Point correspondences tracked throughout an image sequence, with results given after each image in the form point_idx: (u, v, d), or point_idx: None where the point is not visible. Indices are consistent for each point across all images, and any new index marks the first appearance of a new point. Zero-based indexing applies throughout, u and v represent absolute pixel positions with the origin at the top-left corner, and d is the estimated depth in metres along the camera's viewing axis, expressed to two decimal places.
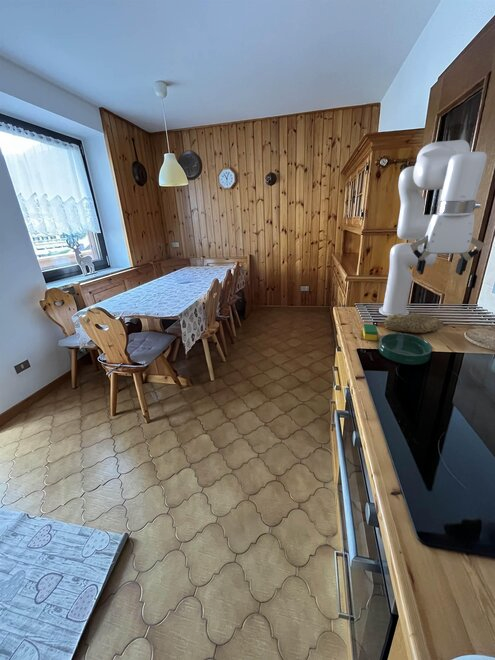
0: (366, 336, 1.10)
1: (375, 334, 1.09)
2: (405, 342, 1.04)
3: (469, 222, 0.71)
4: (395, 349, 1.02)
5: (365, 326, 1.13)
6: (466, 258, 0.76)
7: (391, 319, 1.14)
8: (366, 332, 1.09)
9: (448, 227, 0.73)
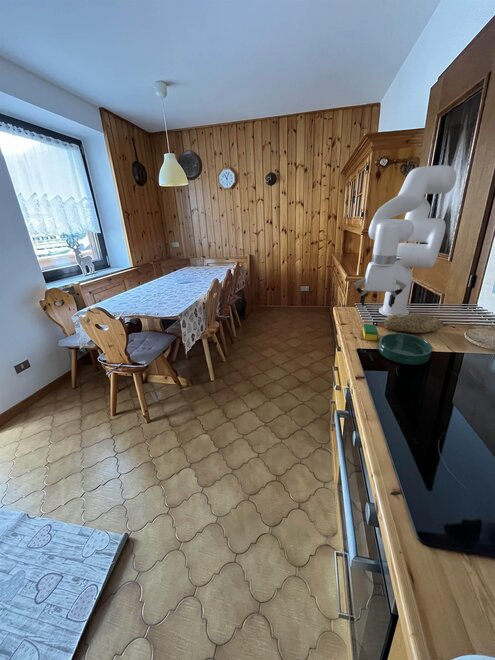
0: (366, 336, 1.10)
1: (375, 334, 1.09)
2: (405, 342, 1.04)
3: (393, 270, 0.97)
4: (395, 349, 1.02)
5: (365, 326, 1.13)
6: (393, 295, 1.02)
7: (391, 319, 1.14)
8: (366, 332, 1.09)
9: (378, 273, 0.99)
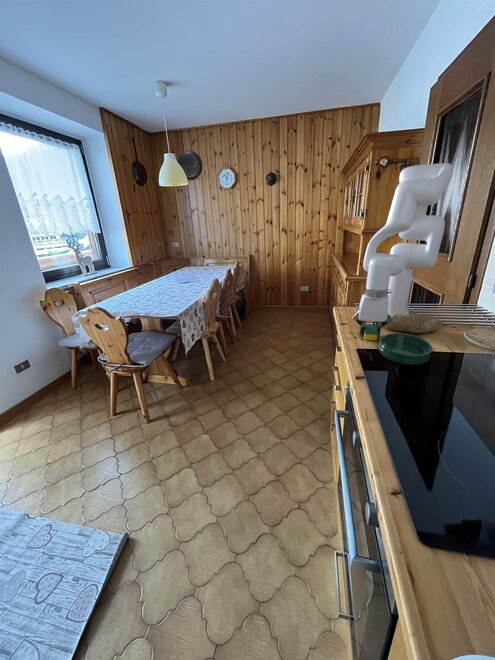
0: (366, 336, 1.10)
1: (375, 334, 1.09)
2: (405, 342, 1.04)
3: (384, 302, 1.04)
4: (395, 349, 1.02)
5: (365, 326, 1.13)
6: (379, 326, 1.09)
7: None
8: (366, 332, 1.09)
9: (371, 305, 1.05)
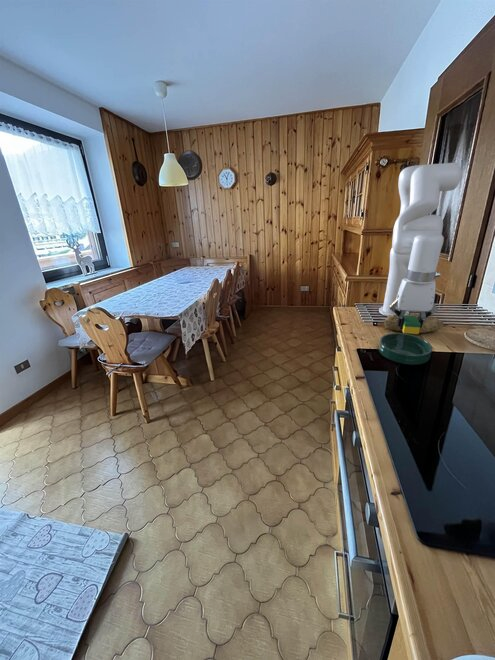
0: (406, 329, 0.93)
1: (417, 326, 0.91)
2: (405, 342, 1.04)
3: (431, 288, 0.86)
4: (395, 349, 1.02)
5: None
6: (422, 317, 0.92)
7: (391, 319, 1.14)
8: (406, 324, 0.92)
9: (414, 291, 0.88)
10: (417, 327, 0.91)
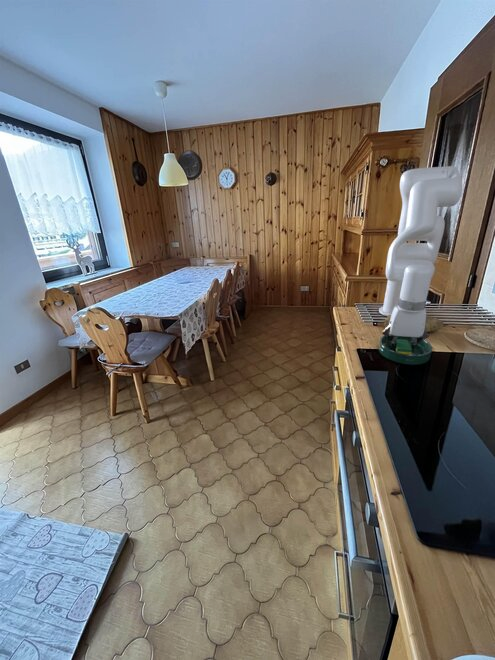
0: None
1: (409, 351, 0.95)
2: None
3: (422, 316, 0.90)
4: None
5: (396, 342, 0.99)
6: (413, 342, 0.96)
7: None
8: (398, 349, 0.96)
9: (405, 318, 0.92)
10: (409, 352, 0.95)
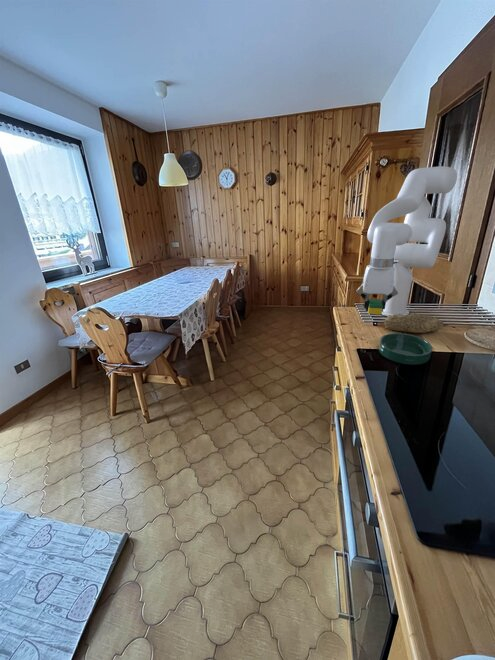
0: (370, 310, 1.05)
1: (380, 308, 1.03)
2: (405, 342, 1.04)
3: (390, 273, 0.99)
4: (395, 349, 1.02)
5: (369, 300, 1.08)
6: (384, 300, 1.04)
7: (391, 319, 1.14)
8: (370, 306, 1.04)
9: (376, 276, 1.00)
10: (380, 308, 1.04)
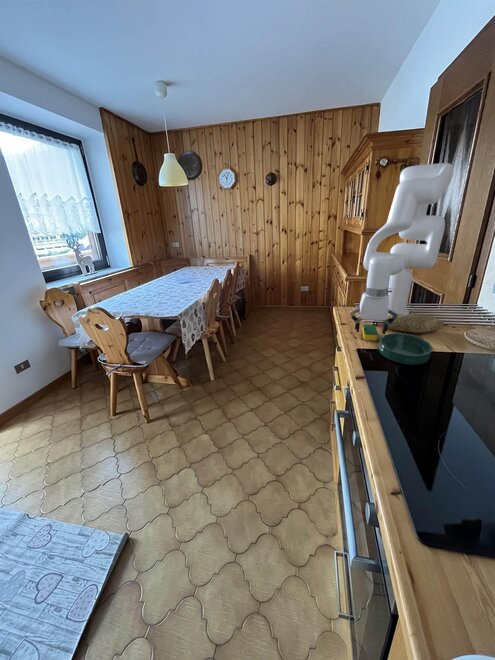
0: (366, 336, 1.10)
1: (375, 334, 1.08)
2: (405, 342, 1.04)
3: (385, 301, 1.04)
4: (395, 349, 1.02)
5: (365, 326, 1.13)
6: (386, 323, 1.08)
7: None
8: (366, 332, 1.09)
9: (371, 304, 1.05)
10: (375, 335, 1.09)
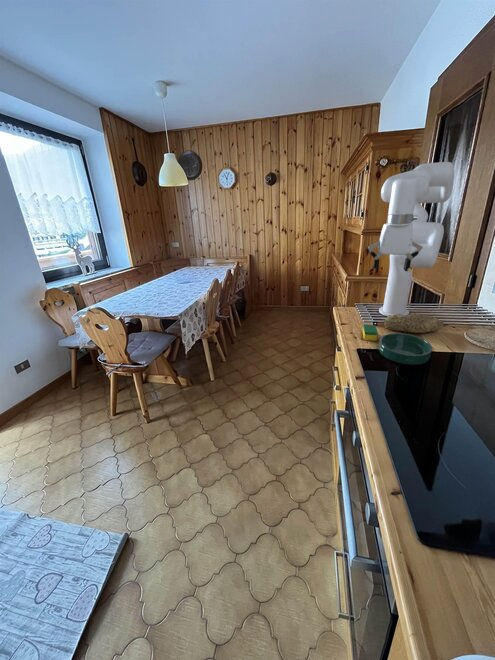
0: (366, 336, 1.10)
1: (375, 334, 1.08)
2: (405, 342, 1.04)
3: (409, 230, 0.93)
4: (395, 349, 1.02)
5: (365, 326, 1.13)
6: (409, 258, 0.98)
7: (391, 319, 1.14)
8: (366, 332, 1.09)
9: (394, 234, 0.95)
10: (375, 335, 1.09)
